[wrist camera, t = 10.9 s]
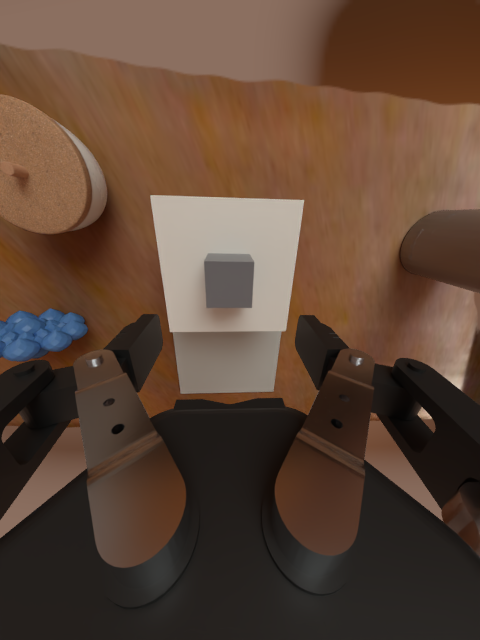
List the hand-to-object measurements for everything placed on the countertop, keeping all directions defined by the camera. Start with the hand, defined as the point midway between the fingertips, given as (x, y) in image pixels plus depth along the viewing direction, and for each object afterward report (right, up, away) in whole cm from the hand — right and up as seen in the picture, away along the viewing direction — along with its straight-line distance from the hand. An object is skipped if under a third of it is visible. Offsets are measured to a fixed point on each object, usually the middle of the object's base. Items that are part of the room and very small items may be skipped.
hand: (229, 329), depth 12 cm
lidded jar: (-20, +18, +14) cm, 30 cm away
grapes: (-28, +1, +22) cm, 36 cm away
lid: (-1, +6, +12) cm, 14 cm away
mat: (-2, -6, +27) cm, 27 cm away
